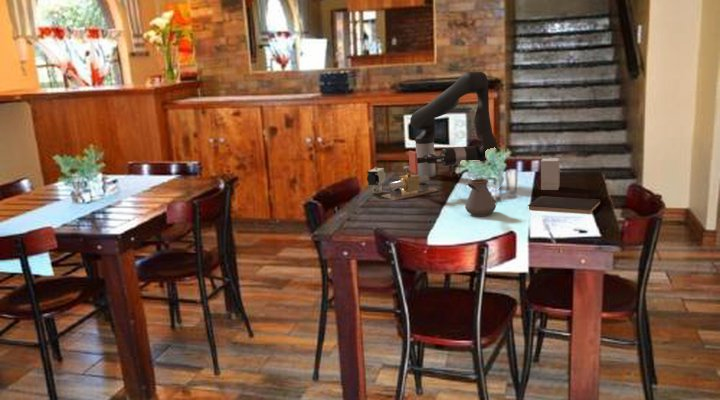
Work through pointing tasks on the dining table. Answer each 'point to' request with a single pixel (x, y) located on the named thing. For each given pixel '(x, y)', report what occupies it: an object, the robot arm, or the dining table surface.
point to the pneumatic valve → (376, 178)
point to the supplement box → (550, 174)
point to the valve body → (409, 187)
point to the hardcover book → (564, 204)
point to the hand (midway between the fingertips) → (416, 160)
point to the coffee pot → (479, 199)
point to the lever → (412, 163)
